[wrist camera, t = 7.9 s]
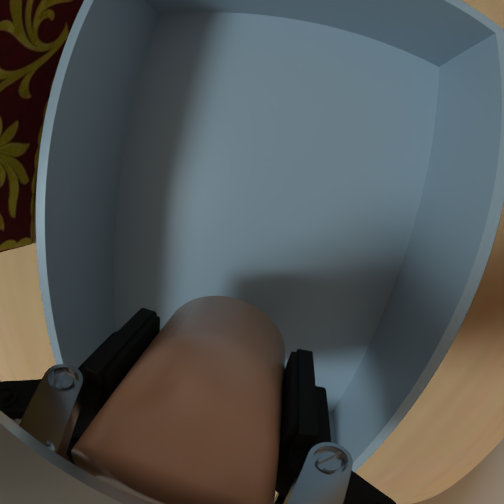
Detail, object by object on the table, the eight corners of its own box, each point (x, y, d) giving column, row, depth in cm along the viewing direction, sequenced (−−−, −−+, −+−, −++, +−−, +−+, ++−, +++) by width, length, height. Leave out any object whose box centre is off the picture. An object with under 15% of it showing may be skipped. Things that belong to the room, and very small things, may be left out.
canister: (170, 281, 10) (45, 408, 4) (301, 313, 10) (304, 497, 3) (164, 375, 12) (95, 492, 5) (268, 403, 11) (248, 542, 5)
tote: (157, 12, 10) (104, -37, 5) (443, 65, 9) (505, 30, 4) (114, 354, 16) (69, 406, 11) (336, 412, 15) (344, 482, 10)
